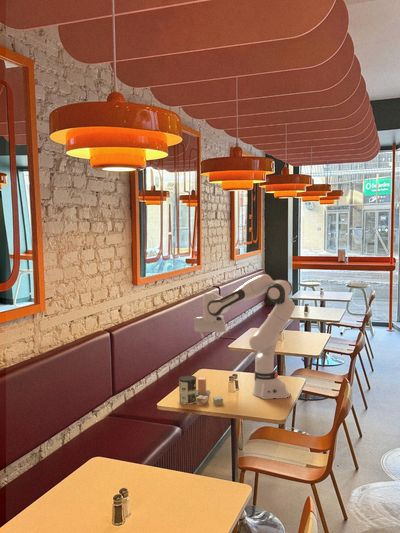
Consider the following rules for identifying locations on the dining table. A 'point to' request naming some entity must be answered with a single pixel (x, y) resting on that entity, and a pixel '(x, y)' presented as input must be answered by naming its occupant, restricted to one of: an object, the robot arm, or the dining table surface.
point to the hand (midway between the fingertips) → (210, 338)
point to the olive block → (218, 400)
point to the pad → (203, 394)
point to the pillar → (202, 385)
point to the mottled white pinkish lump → (202, 400)
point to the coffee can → (187, 389)
